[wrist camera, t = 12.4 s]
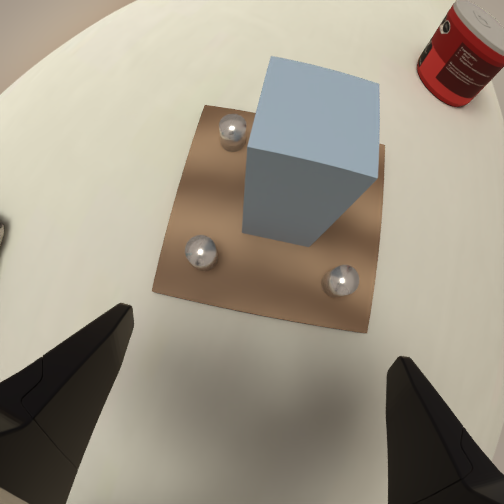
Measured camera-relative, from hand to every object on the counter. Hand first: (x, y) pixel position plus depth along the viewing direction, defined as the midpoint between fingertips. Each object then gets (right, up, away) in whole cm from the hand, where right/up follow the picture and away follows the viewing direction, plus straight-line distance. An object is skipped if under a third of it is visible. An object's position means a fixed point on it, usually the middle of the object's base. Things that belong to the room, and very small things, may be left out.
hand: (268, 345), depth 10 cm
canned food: (+22, +23, +20) cm, 37 cm away
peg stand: (+2, +6, +15) cm, 16 cm away
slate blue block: (+2, +6, +14) cm, 16 cm away
